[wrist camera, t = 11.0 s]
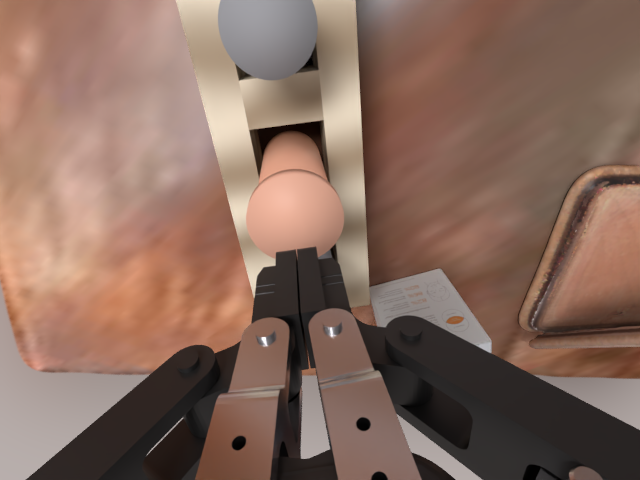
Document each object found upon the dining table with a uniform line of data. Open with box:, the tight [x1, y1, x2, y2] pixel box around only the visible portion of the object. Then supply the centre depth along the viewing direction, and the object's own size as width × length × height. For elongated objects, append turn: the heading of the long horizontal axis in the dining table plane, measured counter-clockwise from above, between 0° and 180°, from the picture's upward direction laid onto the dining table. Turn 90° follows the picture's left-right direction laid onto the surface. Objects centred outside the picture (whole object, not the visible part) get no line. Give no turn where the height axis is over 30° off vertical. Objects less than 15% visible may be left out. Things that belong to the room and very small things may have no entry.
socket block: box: [176, 0, 370, 308], centre depth 27 cm, size 28×10×5 cm, turn 6°
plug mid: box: [246, 131, 344, 259], centre depth 21 cm, size 5×5×10 cm
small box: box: [369, 268, 492, 353], centre depth 34 cm, size 8×6×10 cm
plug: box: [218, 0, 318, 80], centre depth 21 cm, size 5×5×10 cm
